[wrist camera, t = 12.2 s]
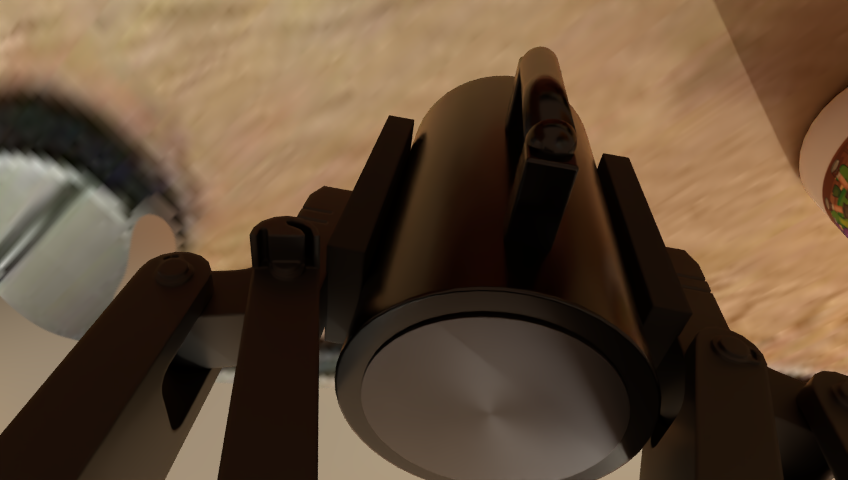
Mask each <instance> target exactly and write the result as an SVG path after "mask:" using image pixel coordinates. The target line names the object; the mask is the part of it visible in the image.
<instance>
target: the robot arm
mask: <svg viewBox="0 0 848 480" xmlns="http://www.w3.org/2000/svg"><path fill="white" fill-rule="evenodd" d="M413 126H414V120H413V119H407V118H401V117H396V116H390V115H389V117H388V119H387V121H386V123H385V125H384V127H383V129H382V131H381V133H380V136H379V138H378V140H377V142H376V144H375V146H374V148H373V150H372V152H371V154H370V156H369V158H368V160H367V163H366V165H365V167H364V169H363V171H362V173H361V175H360V177H359V179H358V181H357V183H356V185H355V187H354V190H353V191H349V190H343V189H338V188H332V187H327V186H323V187H322V188H320V189H319V190H317V191H315V192H314V193H312V194H311V195H310V196H309V197H308V199H307V201H306V202H305V204H304V206H303V209H301V211H300V212H299V214H298V216H297V217H292V216H281V217H273V218H270V219H267V220H264V221H262V222H260V223H259V224H258V225H256V226H255V227H254V228H253V230H252V231H251V233H250V245H251V256H252V267H251V268H248V269H242V270H230V271H211V268H210V265H209V262H208V261H207V260H206V259H204V258H203V257H202V256H200V255H197V254H193V253H190V252H173V253H168V254H163V255H160V256H158V257H156V258H153V259H151V260H149V261H148V262H147V263H146V264H144V265H143V266H142V267H141V268H140V269H139V270H138V271H137V272H136V274H135V275H134V276H133V277H132V278H131V280H130V281H129V282H128V283H127V285H126V286H125V287H124V288H123V289H122V290H121V292H120V293H119V294H118V295H117V296H116V297H115V299H114V300H113V301H112V302H111V303H110V305H109V306H108V307H107V308H106V309H105V311H104V312H103V313H102V314H101V315H100V317H99V318H98V319H97V320H96V321H95V323H94V324H93V325H92V326H91V327H90V329H89V330H88V331H87V332H86V333H85V334H84V336H83V337H82V338H81V339H80V340H79V342H78V343H77V344H76V345H75V346H74V348H73V349H72V350H71V351H70V352H69V354H68V355H67V356H66V357H65V359H64V360H63V361H62V362H61V363H60V364H59V366H58V367H57V368H56V369H55V370H54V371H53V373H52V374H51V375H50V376H49V377H48V379H47V380H46V381H45V382H44V383H43V385H42V386H41V387H40V388H39V389H38V391H37V392H36V393H35V394H34V395H33V397H32V398H31V399H30V400H29V401H28V402H27V404H26V405H25V406H24V407H23V408H22V410H21V411H20V412H19V413H18V414H17V416H16V417H15V418H14V419H13V420H12V422H11V423H10V424H9V425H8V426H7V428H6V429H5V430H4V431H3V432H2V434H1V435H0V480H165V478H166V476H167V474H168V472H169V470H170V468H171V467H172V465H173V463H174V461H175V459H176V457H177V454H178V453H179V451H180V449H181V447H182V445H183V443H184V441H185V439H186V437H187V435H188V433H189V431H190V429H191V427H192V425H193V423H194V421H195V420H196V417H197V416H198V414H199V412H200V410H201V408H202V406H203V404H204V402H205V400H206V398H207V396H208V394H209V392H210V390H211V388H212V386H213V384H214V382H215V380H216V378H217V376H218V375H219V373H220V371H221V369H222V367H233V366H236V371H235V377H234V383H233V389H232V395H231V401H230V407H229V414H228V419H227V425H226V431H225V437H224V443H223V449H222V455H221V461H220V467H219V473H218V480H318V399H319V340H320V337H321V335H322V332H323V330H324V327H325V341H329V342H334V343H339V344H344V341H345V338H346V335H347V332H348V330H349V327H350V324H351V321H352V318H353V315H354V312H355V309H356V306H357V304H358V301H359V298H360V295H361V292H362V289H363V286H364V283H365V281H366V278H367V275H368V272H369V269H370V266H371V263H372V260H373V257H374V255H375V252H376V249H377V246H378V243H379V240H380V237H381V234H382V231H383V229H384V226H385V223H386V220H387V217H388V214H389V211H390V208H391V205H392V203H393V200H394V197H395V194H396V191H397V188H398V185H399V182H400V180H401V177H402V174H403V171H404V168H405V165H406V162H407V159H408V156H409V154H410V150H411V142H412V134H413ZM597 171H598V174H599V178H600V181H601V184H602V188H603V191H604V195H605V198H606V202H607V205H608V208H609V212H610V215H611V219H612V222H613V225H614V229H615V232H616V236H617V239H618V243H619V246H620V249H621V253H622V256H623V260H624V263H625V266H626V270H627V273H628V277H629V280H630V284H631V287H632V290H633V294H634V297H635V301H636V304H637V307H638V311H639V314H640V318H641V321H642V325H643V328H644V331H645V335H646V338H647V342H648V345H649V348H650V352H651V355H652V359H653V362H654V366H655V369H656V372H657V376H658V379H659V383H660V389H661V397H662V399H661V410H660V415H659V419H658V422H657V425H656V428H655V430H654V432H653V433H652V435H651V437H650V439H649V441H648V442H647V443H646V444H645V445H644V447H643V449H642V459H641V469H640V480H832V479H833V478H835V480H848V376H846V375H843V374H840V373H837V372H830V371H822V372H819V373H817V374H815V375H814V376H813V377H812V378H811V379H810V380H809V381H808V382H807V383H804V382H802V381H799V380H797V379H794V378H792V377H790V376H787V375H785V374H782V373H780V372H777V371H775V370H773V369H771V368H769V367H767V363H766V361H765V359H764V356H763V354H762V353H761V352H760V351H759V349H758V348H757V347H756V346H755V345H754V344H753V343H751V342H750V341H749V340H747V339H746V338H745V337H743V336H742V335H740V334H737V333H735V332H733V331H731V330H730V329H729V327H728V325H727V323H726V321H725V319H724V317H723V315H722V313H721V310H720V308H719V306H718V304H717V302H716V300H715V298H714V296H713V294H712V293H710V292H711V290H710V287H709V285H708V283H707V282H706V281H705V277H704V275H703V273H702V271H701V269H700V266H699V264H698V263H697V262H696V261H695V260H694V259H693V258H692V257H691V256H690V255H689V254H688V253H687V252H686V251H685V250H680V249H675V248H669V247H665V244H664V242H663V240H662V237H661V235H660V232H659V230H658V227H657V225H656V223H655V220H654V218H653V215H652V213H651V210H650V208H649V206H648V203H647V201H646V198H645V196H644V193H643V191H642V189H641V186H640V184H639V181H638V179H637V176H636V174H635V172H634V169H633V167H632V164H631V162H630V159H629V158H627V157H621V156H616V155H610V154H604V153H603V155H602V158H601V160H600V163H599V166H598V168H597Z"/></svg>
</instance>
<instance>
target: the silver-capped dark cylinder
mask: <svg viewBox="0 0 848 480" xmlns="http://www.w3.org/2000/svg"><path fill="white" fill-rule="evenodd" d="M335 391H336V395H337V400H338V404H339V407H340V409H341V411H342V413H343V415H344V418H345V419H346V421H347V422H348V424H349V425H350V427H351V428H352V430H353V431H354V432H355V433H356V434H357V435H358V437H359V438H360V439H361V440H362V441H363V442H364V443H365V444H366V445H367V446H368V447H369V448H371V449H372V450H373V451H374V452H376V453H377V454H378V455H380V456H381V457H382V458H384V459H385V460H387V461H388V462H390V463H392V464H393V465H395V466H397V467H398V468H400V469H403V470H404V471H406V472H408V473H410V474H412V475H415V476H417V477H420V478H422V479H425V480H597V479H599V478H602V477H604V476H606V475H608V474H610V473H611V472H613V471H615V470H617V469H618V468H620V467H621V466H623V465H624V464H626V463H627V462H628V461H629V460H631V459H632V458H633V457H634V456H635V455H636V454H637V453H638V452H640V450H641V449H642V448H643V447H644V445H645V444H646V443H647V442H648V441H649V439H650V437H651V435H652V433H653V432H654V430H655V428H656V425H657V422H658V419H659V415H660V410H661V399H662V397H661V389H660V383H659V379H658V376H657V372H656V369H655V366H654V362H653V359H652V355H651V352H650V348H649V345H648V342H647V338H646V335H645V331H644V328H643V325H642V321H641V318H640V314H639V311H638V307H637V304H636V301H635V297H634V294H633V290H632V287H631V284H630V280H629V277H628V273H627V270H626V266H625V263H624V260H623V256H622V253H621V249H620V246H619V243H618V239H617V236H616V232H615V229H614V225H613V222H612V219H611V215H610V212H609V208H608V205H607V202H606V198H605V195H604V191H603V188H602V184H601V181H600V178H599V174H598V171H597V167H596V164H595V161H594V157H593V154H592V150H591V147H590V143H589V140H588V137H587V134H586V131H585V128H584V125H583V123H582V121H581V119H580V117H579V115H578V114H577V113H576V111H575V110H574V109H573V107H572V106H571V105H570V104H569V102H568V98H567V94H566V90H565V86H564V82H563V78H562V74H561V70H560V66H559V62H558V59H557V57H556V55H555V54H554V52H553V51H552V50H550V49H548V48H546V47H536V48H533V49H531V50H529V51H528V52H527V53H526V54H525V55H524V56H523V57H521V58H520V59H519V62H518V67H517V71H516V75H515V77H513V76H492V77H485V78H480V79H476V80H473V81H469V82H467V83H465V84H463V85H460V86H458V87H456V88H455V89H453V90H451V91H450V92H448V93H447V94H445V95H444V96H443V97H442V98H440V99H439V100H438V101H437V102H436V103H435V104H434V105H433V106H432V107H431V108H430V110H429V111H428V112H427V114H426V115H425V117H424V118H423V120H422V122H421V124H420V126H419V128H418V131H417V133H416V136H415V139H414V142H413V145H412V148H411V151H410V154H409V156H408V159H407V162H406V165H405V168H404V171H403V174H402V177H401V180H400V182H399V185H398V188H397V191H396V194H395V197H394V200H393V203H392V205H391V208H390V211H389V214H388V217H387V220H386V223H385V226H384V229H383V231H382V234H381V237H380V240H379V243H378V246H377V249H376V252H375V255H374V257H373V260H372V263H371V266H370V269H369V272H368V275H367V278H366V281H365V283H364V286H363V289H362V292H361V295H360V298H359V301H358V304H357V306H356V309H355V312H354V315H353V318H352V321H351V324H350V327H349V330H348V332H347V335H346V338H345V341H344V344H343V347H342V350H341V353H340V356H339V358H338V361H337V364H336V371H335Z"/></svg>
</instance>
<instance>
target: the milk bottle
mask: <svg viewBox="0 0 848 480" xmlns="http://www.w3.org/2000/svg"><path fill="white" fill-rule="evenodd" d="M799 173H800V178H801V181H802V184H803V186H804V188H805V190H806V191H807V193H808V194H809V195H810V197H811V198H812V199H813V200H814V202H815V203H816V204H817V205H818V206H819V207H820V208H821V210H822V211H823V212H824V213H825V214H826V215H827V216H828V217H829V218H830V219H831V221H832V222H833V223H834V224H835V225H836V226H837V227H838V228H839V229H840V230H841V231H842V233H843V234H844V235H845V236H846V237H847V238H848V87H847V88H846V89H845V90H844V91H842V92H841V93H839V94H838V95H837V96H836V97H835V98H834V99H833V100H832V101H831V102H830V103H829V104H828V105H827V106H826V107H824V108H823V109H822V111H821V112H820V113H819V115H818V116H817V118H816V119H815V120H814V121H813V123H812V124H811V126H810V128H809V130H808V132H807V134H806V136H805V137H804V140H803V144H802V148H801V151H800V161H799Z"/></svg>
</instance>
